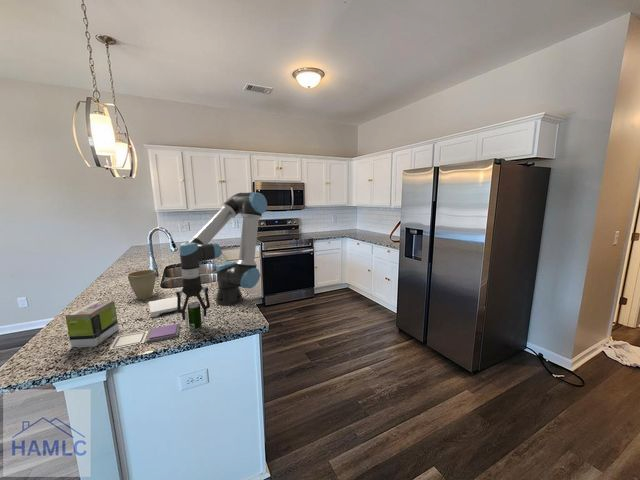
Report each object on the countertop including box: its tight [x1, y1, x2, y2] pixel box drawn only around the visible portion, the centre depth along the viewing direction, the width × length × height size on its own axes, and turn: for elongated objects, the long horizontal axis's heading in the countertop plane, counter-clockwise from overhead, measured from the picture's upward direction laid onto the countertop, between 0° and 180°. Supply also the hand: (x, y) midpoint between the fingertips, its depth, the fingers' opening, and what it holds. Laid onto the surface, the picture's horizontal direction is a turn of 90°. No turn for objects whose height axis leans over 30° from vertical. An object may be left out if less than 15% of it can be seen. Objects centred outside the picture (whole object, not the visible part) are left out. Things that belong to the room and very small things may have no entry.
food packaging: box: [148, 296, 184, 318], centre depth 151 cm, size 15×3×20 cm
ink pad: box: [145, 323, 181, 344], centre depth 122 cm, size 12×12×2 cm
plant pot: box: [126, 269, 157, 300], centre depth 168 cm, size 15×15×16 cm
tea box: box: [64, 300, 120, 348], centre depth 118 cm, size 15×10×15 cm
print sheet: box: [108, 330, 149, 351], centre depth 117 cm, size 12×12×1 cm
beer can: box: [187, 301, 203, 331], centre depth 126 cm, size 5×5×12 cm
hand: (195, 324), depth 127 cm, fingers open, 6 cm apart
